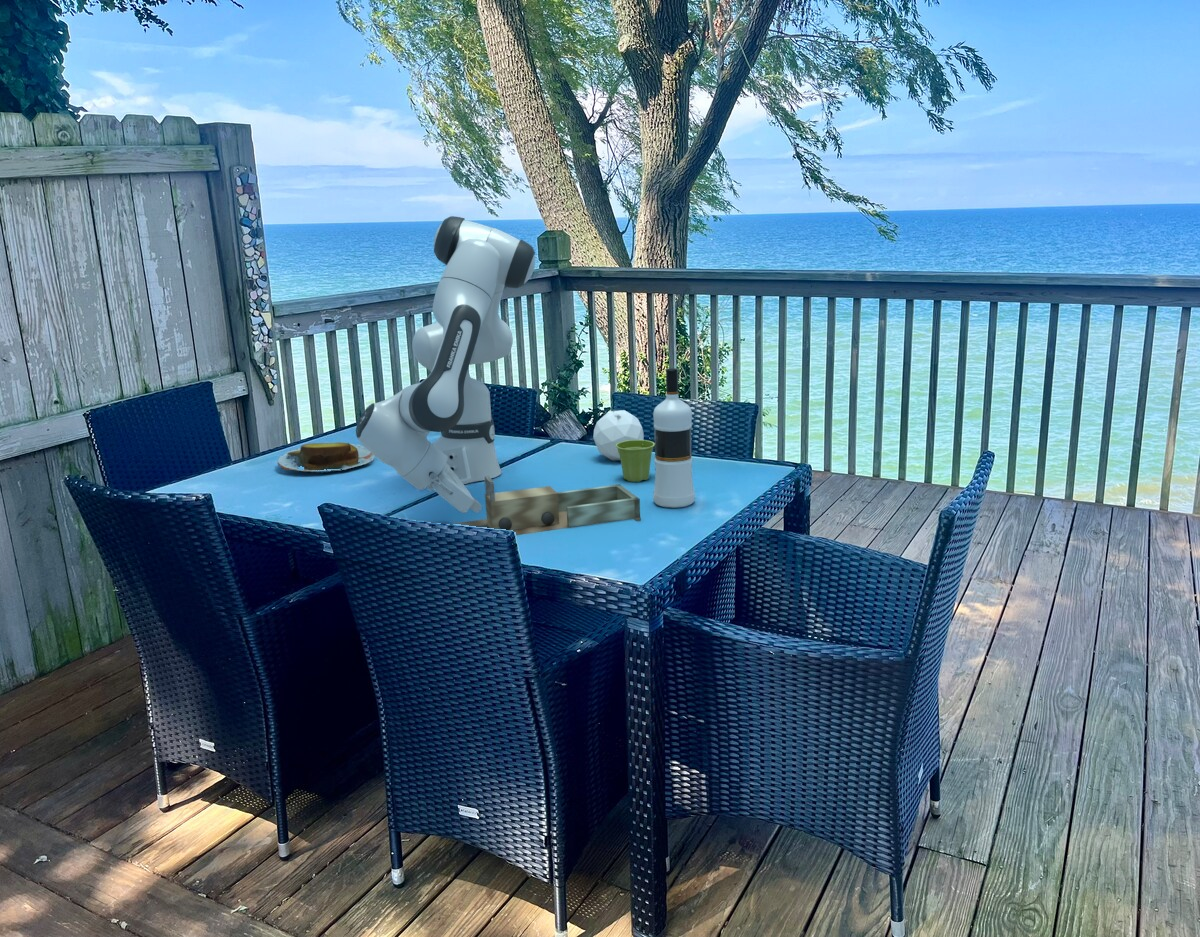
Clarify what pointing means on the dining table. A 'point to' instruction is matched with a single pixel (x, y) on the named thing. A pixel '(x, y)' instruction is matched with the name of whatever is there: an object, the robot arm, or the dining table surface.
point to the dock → (586, 508)
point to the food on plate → (325, 457)
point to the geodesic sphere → (616, 432)
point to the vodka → (673, 448)
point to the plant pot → (635, 459)
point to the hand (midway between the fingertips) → (478, 508)
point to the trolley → (520, 507)
